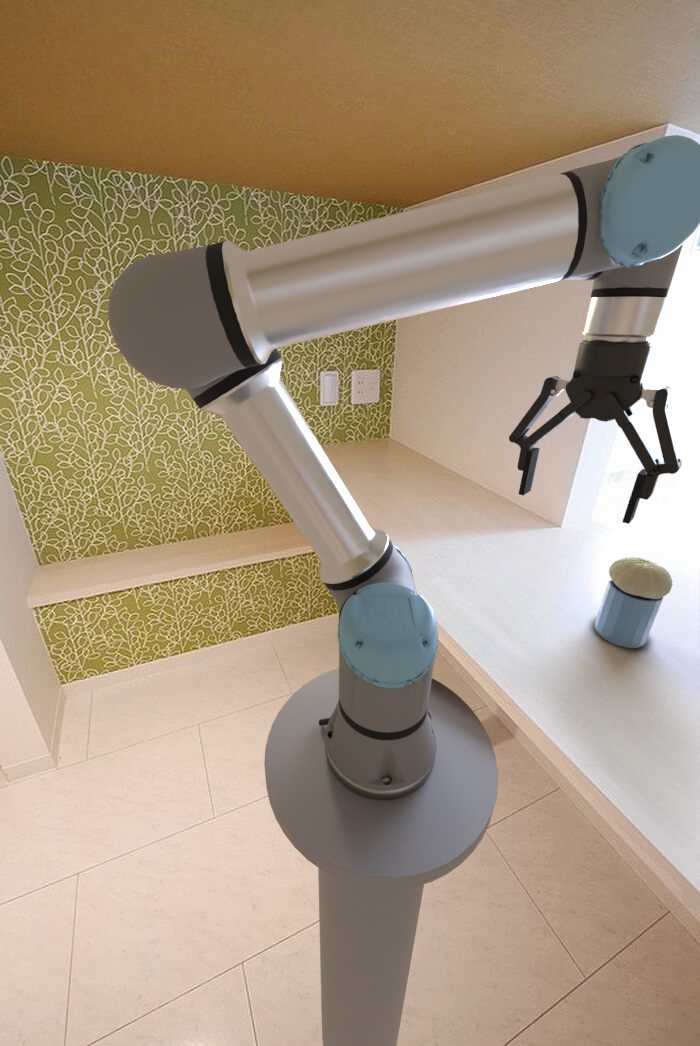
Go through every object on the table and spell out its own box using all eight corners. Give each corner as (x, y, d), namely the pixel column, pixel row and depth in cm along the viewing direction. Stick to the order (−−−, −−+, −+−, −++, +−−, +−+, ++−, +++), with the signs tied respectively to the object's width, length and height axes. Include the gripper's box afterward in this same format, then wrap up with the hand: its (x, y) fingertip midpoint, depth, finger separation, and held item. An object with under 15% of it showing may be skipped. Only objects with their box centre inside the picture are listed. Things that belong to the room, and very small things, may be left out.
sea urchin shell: (636, 559, 81) (673, 547, 73) (651, 601, 78) (691, 593, 71) (594, 563, 79) (628, 551, 71) (608, 607, 76) (644, 599, 69)
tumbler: (589, 633, 80) (603, 587, 75) (601, 613, 85) (615, 569, 81) (640, 655, 75) (659, 607, 70) (649, 632, 80) (667, 587, 76)
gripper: (755, 344, 46) (685, 524, 55) (524, 334, 61) (499, 477, 70) (752, 346, 41) (675, 544, 50) (501, 335, 56) (477, 489, 65)
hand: (572, 505), depth 60 cm, fingers open, 13 cm apart
